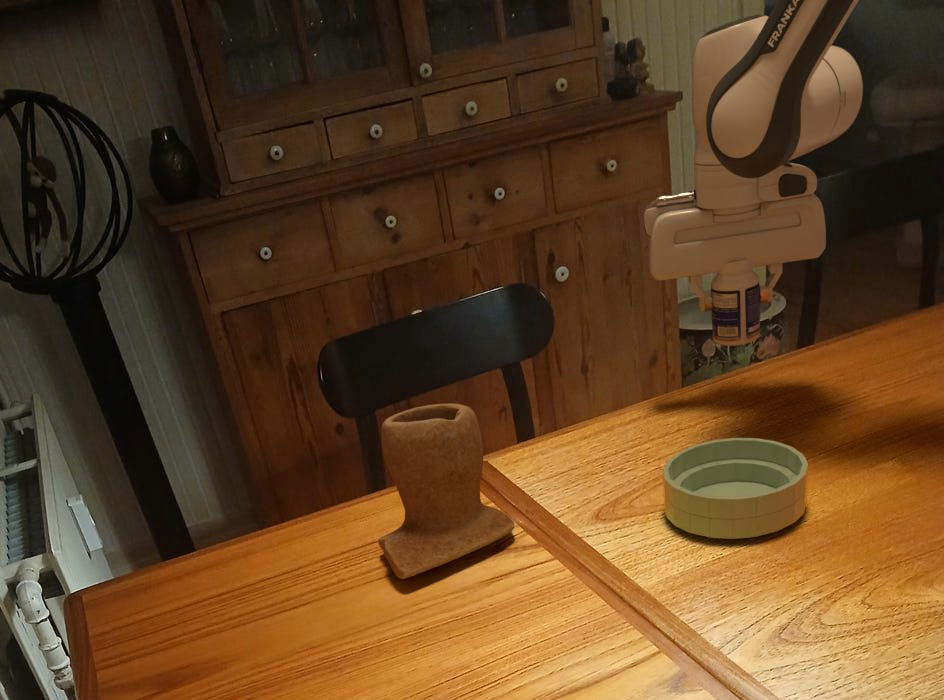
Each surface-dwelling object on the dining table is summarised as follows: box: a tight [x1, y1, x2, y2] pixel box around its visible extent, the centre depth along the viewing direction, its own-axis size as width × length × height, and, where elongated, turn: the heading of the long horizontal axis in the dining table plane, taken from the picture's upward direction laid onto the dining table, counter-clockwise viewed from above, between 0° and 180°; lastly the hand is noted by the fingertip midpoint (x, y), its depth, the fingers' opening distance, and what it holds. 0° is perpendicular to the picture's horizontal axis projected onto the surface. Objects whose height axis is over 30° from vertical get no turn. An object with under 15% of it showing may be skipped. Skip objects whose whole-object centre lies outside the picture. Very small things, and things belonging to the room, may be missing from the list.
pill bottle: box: [710, 259, 761, 347], centre depth 120 cm, size 6×6×10 cm
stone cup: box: [377, 403, 515, 580], centre depth 102 cm, size 15×12×15 cm
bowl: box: [662, 437, 809, 540], centre depth 102 cm, size 14×14×5 cm
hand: (735, 305), depth 120 cm, fingers closed on pill bottle, 6 cm apart
